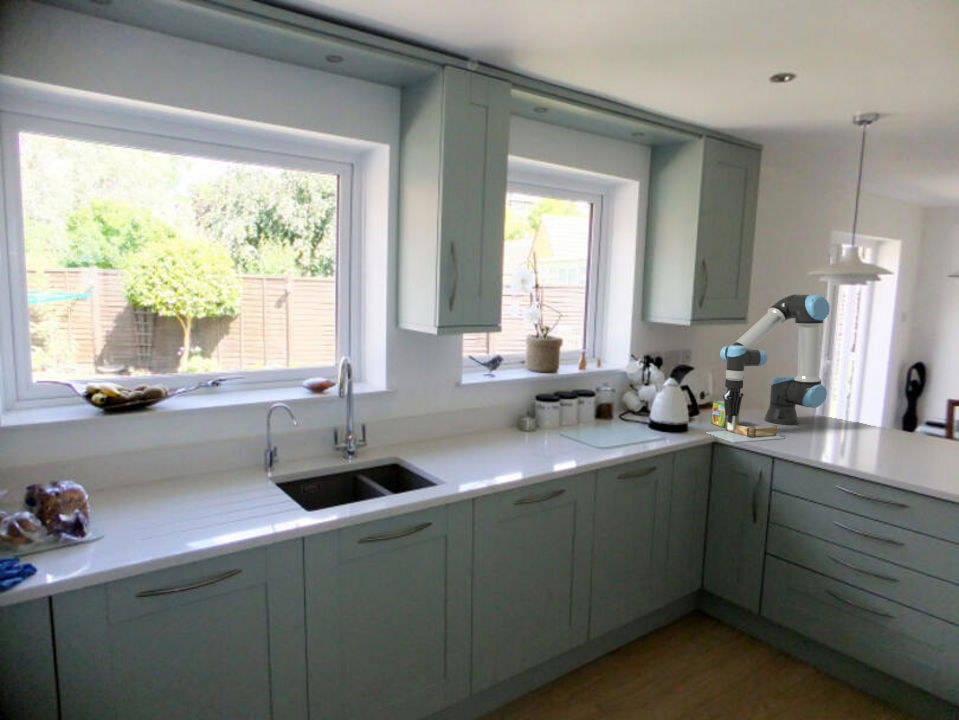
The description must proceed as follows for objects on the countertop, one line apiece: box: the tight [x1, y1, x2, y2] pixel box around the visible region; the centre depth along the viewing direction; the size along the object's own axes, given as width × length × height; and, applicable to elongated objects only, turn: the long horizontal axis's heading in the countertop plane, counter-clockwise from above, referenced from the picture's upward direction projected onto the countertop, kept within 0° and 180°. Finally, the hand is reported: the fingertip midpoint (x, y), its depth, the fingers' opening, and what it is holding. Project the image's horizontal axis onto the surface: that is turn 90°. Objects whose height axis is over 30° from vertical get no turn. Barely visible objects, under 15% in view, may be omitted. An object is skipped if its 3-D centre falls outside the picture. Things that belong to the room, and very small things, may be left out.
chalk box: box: [710, 400, 741, 429], centre depth 287 cm, size 9×9×15 cm
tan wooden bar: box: [724, 421, 750, 436], centre depth 270 cm, size 12×2×4 cm, turn 27°
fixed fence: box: [748, 424, 778, 438], centre depth 265 cm, size 2×15×5 cm, turn 108°
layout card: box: [705, 430, 785, 444], centre depth 268 cm, size 18×28×1 cm, turn 108°
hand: (730, 429), depth 271 cm, fingers closed
